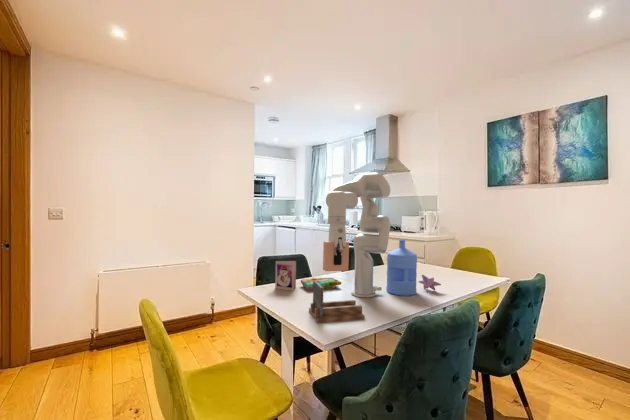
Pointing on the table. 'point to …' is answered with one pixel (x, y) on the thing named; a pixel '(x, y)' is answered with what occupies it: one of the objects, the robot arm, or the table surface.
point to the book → (329, 257)
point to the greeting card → (285, 275)
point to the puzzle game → (324, 282)
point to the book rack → (333, 308)
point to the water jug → (401, 271)
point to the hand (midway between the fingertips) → (335, 263)
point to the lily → (428, 283)
